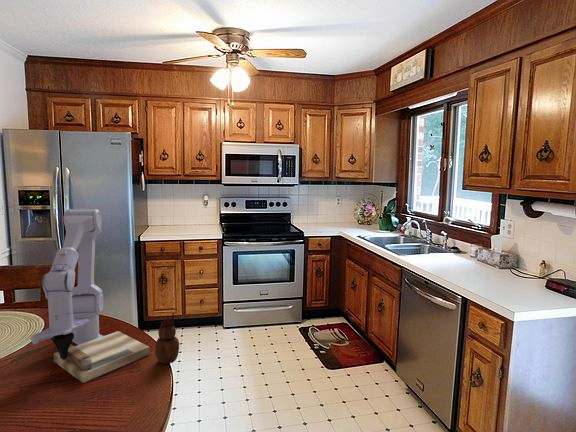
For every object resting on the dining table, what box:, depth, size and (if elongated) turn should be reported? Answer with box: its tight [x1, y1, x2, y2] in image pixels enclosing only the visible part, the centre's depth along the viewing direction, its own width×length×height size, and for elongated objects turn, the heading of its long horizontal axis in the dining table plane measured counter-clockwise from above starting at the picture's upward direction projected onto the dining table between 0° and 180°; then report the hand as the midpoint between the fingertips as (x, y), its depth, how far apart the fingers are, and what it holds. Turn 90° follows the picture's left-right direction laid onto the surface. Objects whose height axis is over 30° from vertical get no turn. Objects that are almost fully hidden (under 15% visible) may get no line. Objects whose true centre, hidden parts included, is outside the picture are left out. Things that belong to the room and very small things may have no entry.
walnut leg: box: [66, 344, 92, 370], centre depth 105 cm, size 14×3×2 cm, turn 54°
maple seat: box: [53, 330, 150, 384], centre depth 112 cm, size 18×20×3 cm
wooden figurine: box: [154, 312, 180, 365], centre depth 110 cm, size 7×6×15 cm
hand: (63, 358), depth 105 cm, fingers closed
